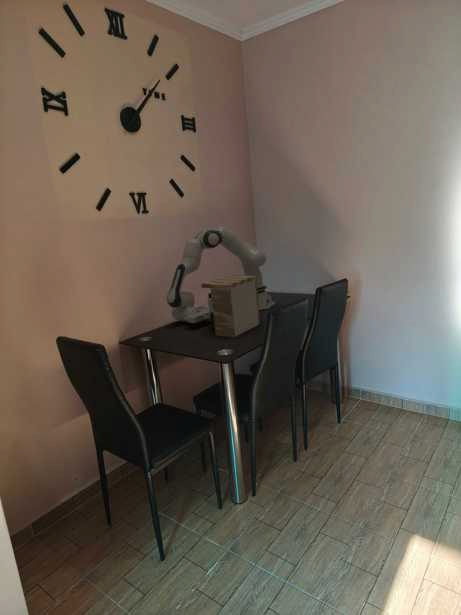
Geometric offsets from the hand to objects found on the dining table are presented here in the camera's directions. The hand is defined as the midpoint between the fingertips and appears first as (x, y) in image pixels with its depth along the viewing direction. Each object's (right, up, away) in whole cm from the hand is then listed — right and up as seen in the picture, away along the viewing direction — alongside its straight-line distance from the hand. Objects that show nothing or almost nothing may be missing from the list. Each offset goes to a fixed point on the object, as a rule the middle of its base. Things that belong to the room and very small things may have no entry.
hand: (211, 316), depth 235 cm
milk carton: (+4, -6, -1) cm, 8 cm away
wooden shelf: (+13, -7, -8) cm, 17 cm away
